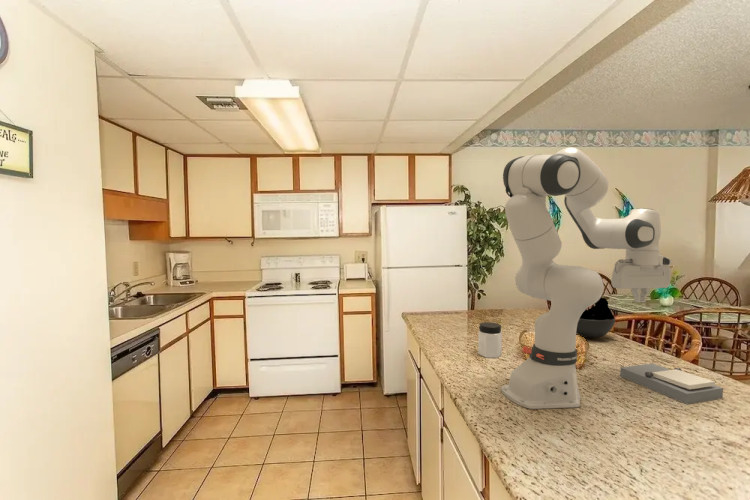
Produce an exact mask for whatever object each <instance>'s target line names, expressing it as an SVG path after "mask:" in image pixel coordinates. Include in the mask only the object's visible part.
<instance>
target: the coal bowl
mask: <svg viewBox="0 0 750 500" xmlns="http://www.w3.org/2000/svg"><path fill="white" fill-rule="evenodd" d="M615 322H616V317H615V316H614V314H613V312H612V309H610V307H609V301H608V300H607V299H606V298H604V297H601V298H600V299H599V300H598V301H597V302H596V303H595V304H594V306H593V305H592V306H590V308H587V309H586V310H585V311H584V312H583V313H582V315H581V316H580V318H579V321H578V324H577V331H576V335H579V336H581V335H582V336H581V337H584V338H588V339H591V338H592V339H593V338H600V337H603V336H605V335H607V334H608V333H610V331H611V330H612V329H613V327H614V325H615Z"/></svg>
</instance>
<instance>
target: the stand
mask: <svg viewBox="0 0 750 500" xmlns="http://www.w3.org/2000/svg"><path fill="white" fill-rule="evenodd" d="M619 369H620V370H619V373H620V374H619V376H620V377H621V378H623V379H625V380H626V379H627V381H628V380H629V381H631V382H633V383H635V384H638V385H640V386H643V387H646V388H647V389H650V390H652V391H654V392H657V393H660V394H661V395H664V396H666V397H669V398H670V399H673V400H676V401H678V402H680V403H682V404H685V405H690V404H696V403H697V404H698V403H702V402H709V401H714V400H715V401H716V400H720V399H723V397H724V396H723V394H724V388H723V387H720V386H718V385H715V386H709V387H703V388H697V389H690V390H689V389H686V388H683V387H680V386H678V385H675V384H672V383H669V382H666V381H663V380H661V379H658V378H655V377H653V374H652V372H659V371H667V370H671V369H670V368H667V367H664V366H661V365H658V364H656V363H643V364H639V365H630V366H623V367H620V368H619ZM674 369H677V370H680V371H683V370H682V368H680V367H675V368H673V370H674Z"/></svg>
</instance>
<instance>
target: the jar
mask: <svg viewBox="0 0 750 500" xmlns="http://www.w3.org/2000/svg"><path fill="white" fill-rule="evenodd" d="M477 337H478V338H477V339H478V340H477V341H478V344H477V347H478V349H477V354H478V355H480V356H482V357H483V358H488V359H498V358H499V357H501V356H502V354H503V353H502V351H503V350H502V347H503V332H502V325H501V324H499V323H496V322H489V321H488V322H485V321H484V322H480V323H479V330H478V335H477Z"/></svg>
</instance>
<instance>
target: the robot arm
mask: <svg viewBox="0 0 750 500" xmlns="http://www.w3.org/2000/svg"><path fill="white" fill-rule="evenodd" d="M502 181H503V185H504V188H505V193H506V194H507V196H508V197H510V198H509V199H508V200H506V203H505V206H504V207H505V208H504V211H505V217H506V221H507V224H508V226H509V229H510V232H511V235H512V237H513V239H514V241H515V244H516V246H517V248H518V251H519V253H520V256H521V261H522V262H521V263H522V264H521V266H520V267H519V268H518V269H517V271H516V273H515V278H514V279H515V285H516V288H517V290H518V291H519V292H520V293H522V294H525V295H527V296H530V297H532V298H535V299H540V300H545V301H550V302H551V303H550V304H551V305H550V308H549V311H547V312H544V313H541V314H540V315H539V316H538V317H537V318H536V320H535V323H534V343H533V345H532V347H531V348H530V347H528V346H526V345H525V346H523V348H522V352H523V353H524V354H526V355H529V357H528V358H527V359H526V360H524V361H523V362H522V363H521V364H520V365H518V366H517V367H515V368H514V369H513V370H512V371H511V373H510V376H509V379H508V381H509V382H508V384H504V385H502V386H501V387H500V391H501V393H502V394H503V395H504V396H505V397H506V398H507V399H509V400H510V401H512V402H513V403H514V404H517V405H518V406H520V407H524V408H527V409H530V410H537V409H538V410H540V409H541V410H542V409H562V408H567V409H568V408H579V407H581V403H580V401H581V398H582V397H581V394H580V390H579V386H578V378H577V368H576V363H578V350H577V348H576V346H577V345H576V344H577V343H576V342H577V341H576V340H577V333H576V331H577V324H578V321H579V318H580V316H581V315H582V313H583V312H584V311H585V310H586V309H587V310H588V309H589V308H590V307H592V306H593V305H595V303H596V302H597V301H598V300H599V299H600V298H602V295H603V293H604V289H605V288H604V287H605V286H604V280H603V279H602V276H601V275H600V274H599V272H597V271H595V270H594V269H593V270H592V269H589V268H587V267H582V266H580V265H577V266H576V265H567V264H557V263H556V262H554V259H555V258H557V256H558V255H559V254H560V252H561V249H562V241H561V238H560V235H559V233H558V231H557V229H556V226H555V223H554V221H553V218H552V216H551V213H549V211H548V209H547V202H546V200H547V197H548V196H552V197H558V196H559V197H560V196H564V200H563V201H564V206H565V209H566V210H567V212H568V213H569V215H570V218H571V219H572V220H573V221H574V223H575V225H576V227H577V228H578V230H579V231H580V233H581V236H582V239H583V241H584V243H585V245H586V246H587V247H589V248H590V249H593V250H599V249H600V250H601V249H602V250H603V249H612V250H614V249H615V250H625V259H623V258H620V259H618V260H617V261H616V262H615V264H614V267H613V271H612V275H611V280H610V281H611V283H610V284H611V286H612V288H614V289H620V290H627V289H629V290H630V289H631V290H630V291H631V293H632V295H633V302H636V303H646V302H647V297H648V295H649V293H650V290H651V289H667V288H669V287H670V285H671V280H672V269H671V267H670V266H672V264H673V263H672V261H673V260H672V259H671V258H670V257H668V256H665V255H662V254H660V251H661V249H660V246H659V241H660V239H661V227H662V226H661V217H660V213H659V211H658V210H655V209H654V208H653V209H652V208H645V207H638V208H637V207H636V208H633V209H631V210H630V212H629V214H628V215H626V216H625V217H623V218H600V217H596V216H595V214H594V212H593V211H592V210H591V208H593V207H596V205H598V204H599V203H600V202H602V200H603V199H604V198H605V196H606V194H607V193H608V189H609V181H608V178H607V176H606V175H605V174H604V172H603V170H602V169H600V167H599V166H598V165H597V163H595V161H593V160H592V159H591V158H590V157H589V156H588V155H587V154H586V153H584V152H583V151H582V150H581V149H579V148H576V147H571V146H569V147H568V146H567V147H566V148H561V149H560V150H558V151H557V152H555V153H554V154H542V153H539V154H538V153H537V154H531V155H525V156H523V155H522V156H521V155H520V156H518V157H516V158H514V159H512V160H510V161H508V162H507V163H506V164H505V166H504V169H503V173H502Z"/></svg>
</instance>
